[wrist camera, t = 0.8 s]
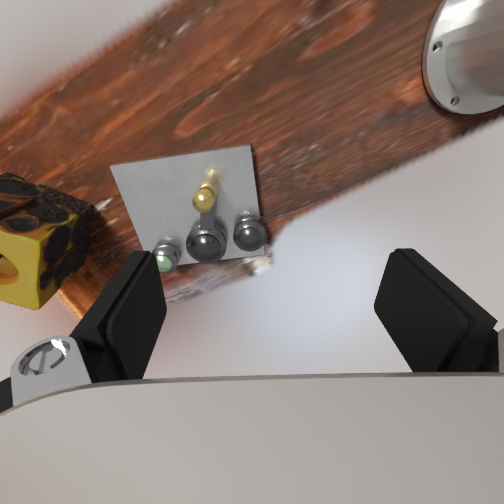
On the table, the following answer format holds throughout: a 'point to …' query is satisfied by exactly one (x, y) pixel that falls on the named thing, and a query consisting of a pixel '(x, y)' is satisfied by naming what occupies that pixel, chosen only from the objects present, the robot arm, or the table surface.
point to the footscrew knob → (206, 226)
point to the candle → (39, 240)
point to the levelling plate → (180, 201)
